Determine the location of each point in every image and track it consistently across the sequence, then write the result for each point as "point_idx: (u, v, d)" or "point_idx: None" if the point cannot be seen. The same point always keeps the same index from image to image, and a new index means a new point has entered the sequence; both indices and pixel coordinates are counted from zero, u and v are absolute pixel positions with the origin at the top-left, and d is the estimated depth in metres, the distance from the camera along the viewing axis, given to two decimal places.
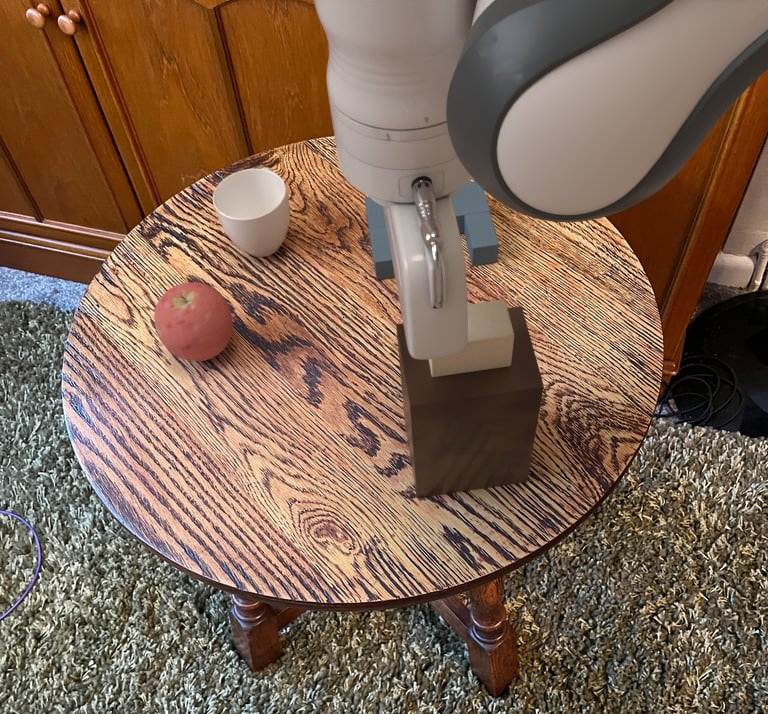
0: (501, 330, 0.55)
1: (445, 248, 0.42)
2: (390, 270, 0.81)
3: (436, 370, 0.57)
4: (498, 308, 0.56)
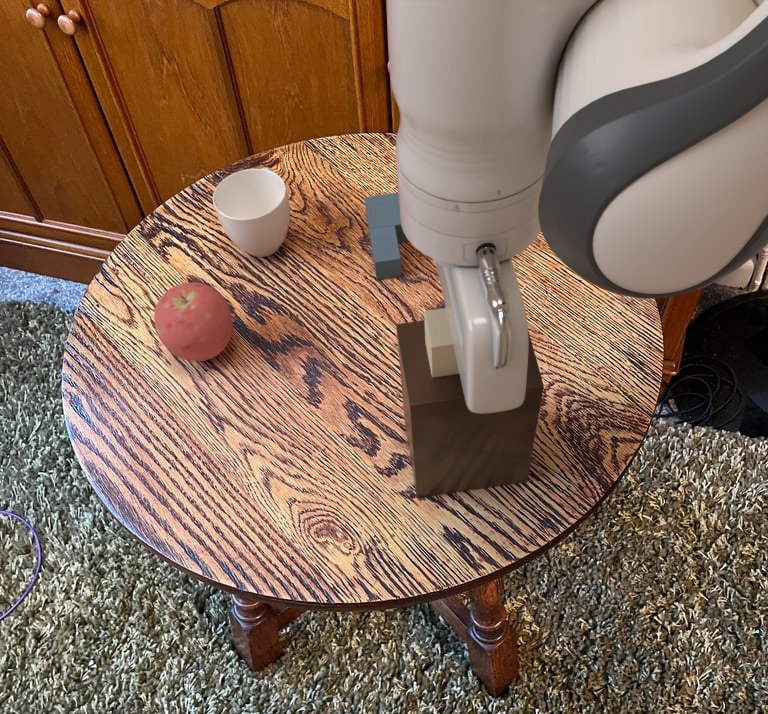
0: None
1: (509, 313, 0.43)
2: (390, 270, 0.81)
3: (436, 370, 0.57)
4: None
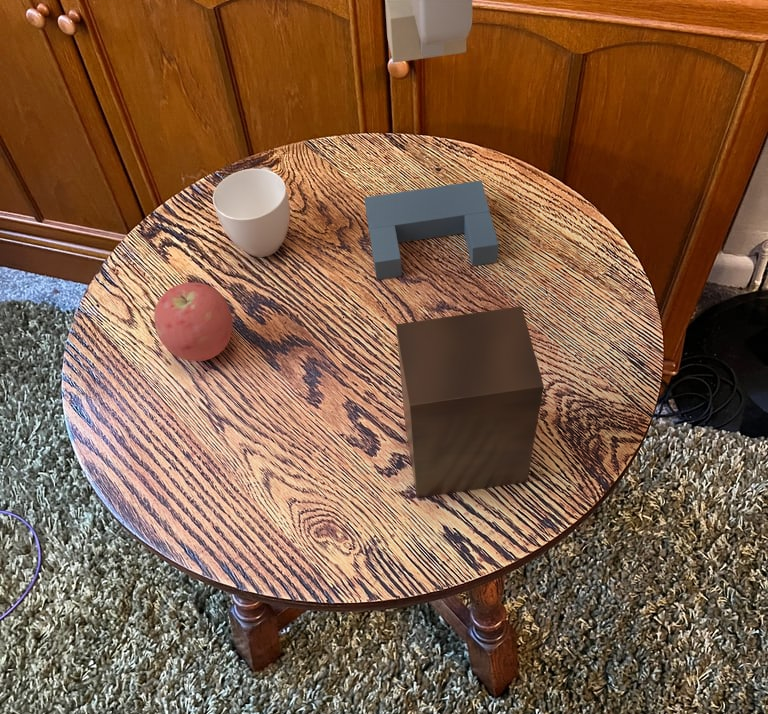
0: None
1: None
2: (390, 270, 0.81)
3: (396, 52, 0.62)
4: None
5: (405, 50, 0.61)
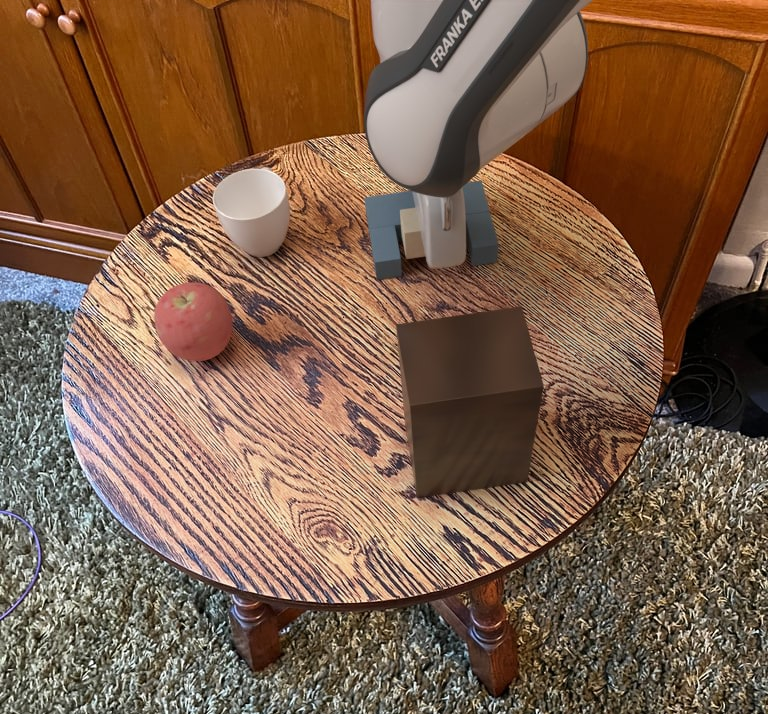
0: None
1: None
2: (390, 270, 0.81)
3: (408, 253, 0.80)
4: None
5: (415, 251, 0.80)
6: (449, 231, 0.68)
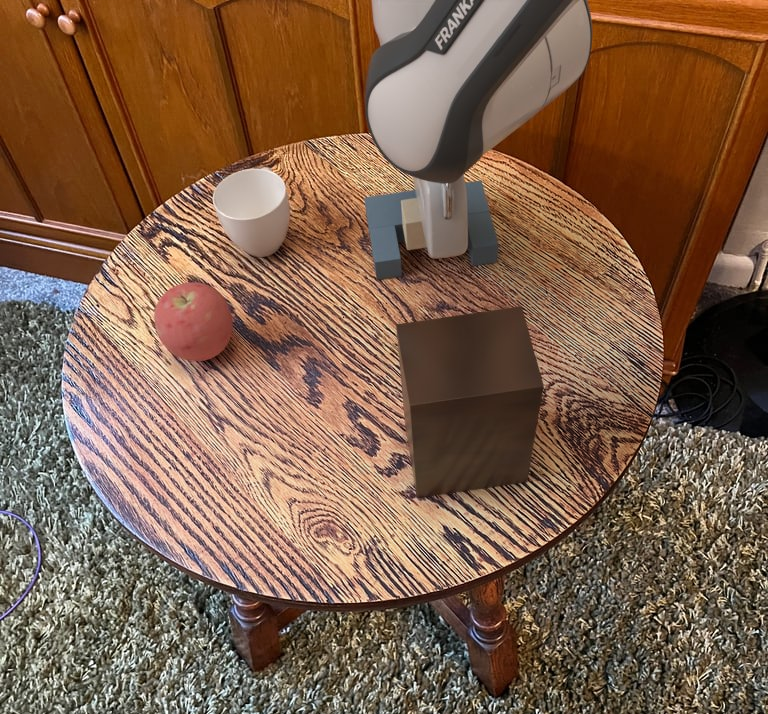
0: None
1: None
2: (390, 270, 0.81)
3: (410, 244, 0.79)
4: None
5: (417, 242, 0.79)
6: (450, 220, 0.67)
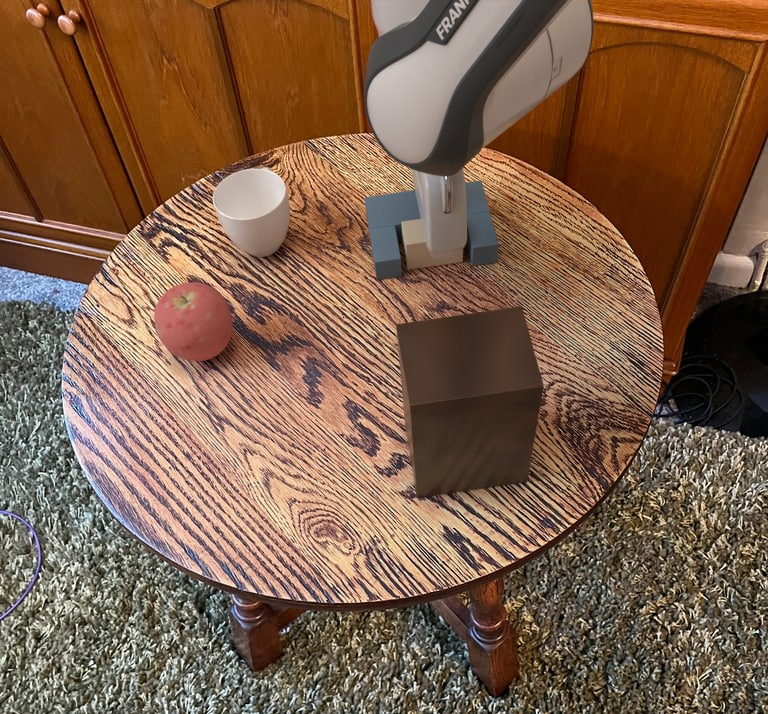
0: None
1: None
2: (390, 270, 0.81)
3: (410, 264, 0.82)
4: None
5: (416, 262, 0.81)
6: (450, 214, 0.67)
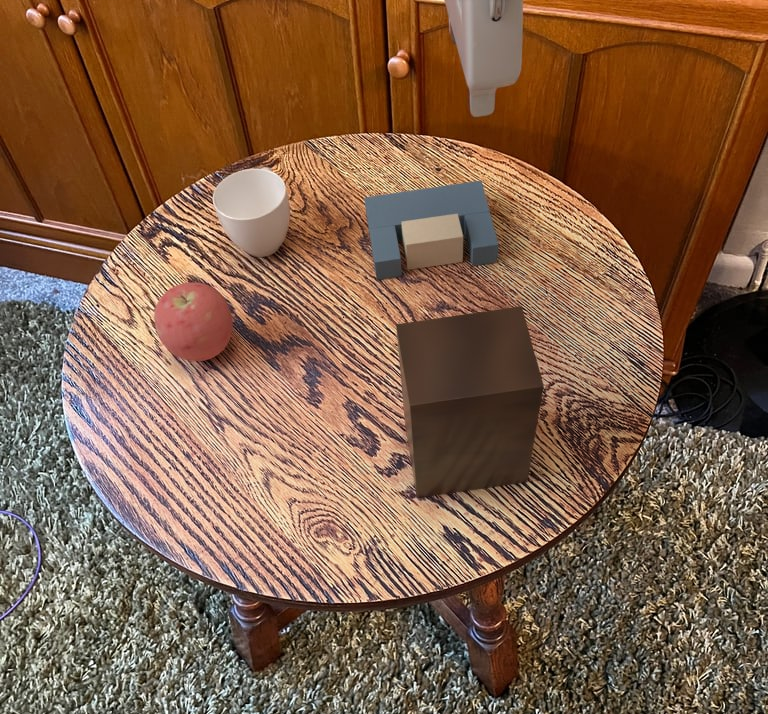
0: (454, 233, 0.79)
1: None
2: (390, 270, 0.81)
3: (410, 264, 0.82)
4: (453, 219, 0.80)
5: (416, 262, 0.81)
6: (499, 22, 0.48)
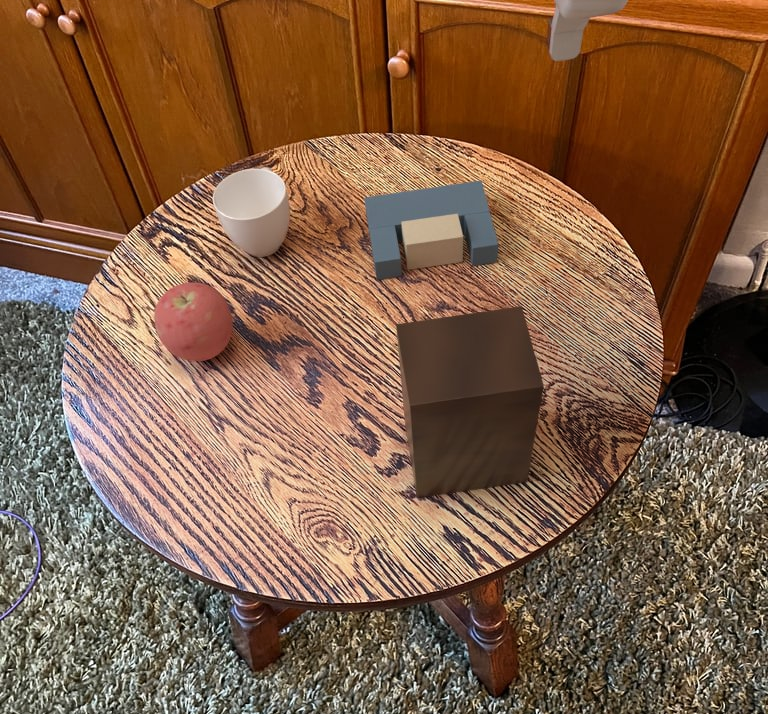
0: (454, 233, 0.79)
1: None
2: (390, 270, 0.81)
3: (410, 264, 0.82)
4: (453, 219, 0.80)
5: (416, 262, 0.81)
6: None
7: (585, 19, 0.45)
